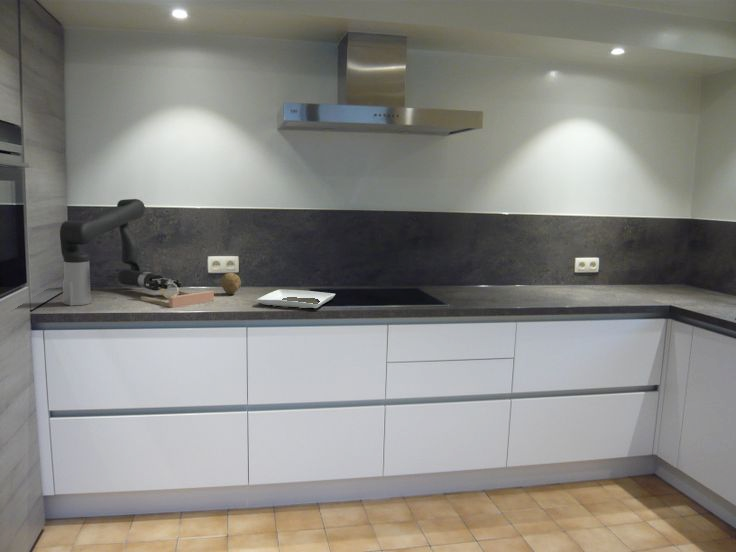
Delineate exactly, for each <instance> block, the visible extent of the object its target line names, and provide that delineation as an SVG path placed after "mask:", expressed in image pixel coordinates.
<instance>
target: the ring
mask: <svg viewBox="0 0 736 552" xmlns="http://www.w3.org/2000/svg"><path fill="white" fill-rule="evenodd" d="M165 282H166V281H165ZM165 284H167V285H168V286H169V284H172V285H174V286H175V287H174V286H173V287H174V288H176V293H175V294H174V295H173V296H178V295H179V291H180V287H178V286H177V285H176V284H175V283H173V281H172V282H171V280H168V281H167V282H166V283H165ZM160 290H161V294H162V296H163V297H165V298H166V299H169V297H172V295H170V296H168V295H166V294H165V292H164V289H163V288H161V289H160Z"/></svg>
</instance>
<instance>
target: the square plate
mask: <svg viewBox="0 0 736 552" xmlns="http://www.w3.org/2000/svg"><path fill="white" fill-rule="evenodd" d="M335 296H336V293H331V292H323V291H322V292H320V291H311V290H302V289H301V290H298V289H277V290H274V291H272V292H269V293H266V294H264V295H263V296H260V297H259V298H256V300H257V301H258V302H259V303H261V304H263V305H266V306H270V305H274V306H273V307H275V306H291V307H306V308H314V309H317V308H319V307H321V306H322V305H324V304H325V303H327V302H329V301H331V300H332V299H333V298H334V297H335ZM287 297H297V298H315V299H318V300H319V301H320V302H319V303H318V304H313V303H306V302H298V301H287V300H282V299H283V298H287Z"/></svg>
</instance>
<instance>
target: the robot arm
mask: <svg viewBox="0 0 736 552" xmlns="http://www.w3.org/2000/svg"><path fill="white" fill-rule="evenodd" d="M144 205H145V204H144V202H143V201H142V200H141V199H138V198H131V199H130V198H129V199H121V200H119V201H118V202H117V205H116V206H113V207H108V208H105V209H102V210H99V211H98V212H96V213H95V214H94V215H93V217H92V220H88V221H78V220H77V221H76V220H66V221H63V222H62V223H61V225H60V227H59V228H60V229H59V240H60V250H61V255H62V258H63V274H64V277H63V280H62V303H63V304H64V305H67V306H71V307H72V306H84V305H89V304H91V301H92V299H91V274H90V256H89V253H87V252H85V251H83V250H82V249H80V248H79V247H78V245H82V246H83V245H87V244H88V245H89V244H90V243H92V242H93V241H94V240H95V239H97V238H98V237H99V236H101V235H105V234H106V233H108V232H110V231H113V230H115V229H117V228H118V229H119V234H120V240H121V262H122V263H123V264H125V265H128V266H129V268H124V269H121V270H119V271H118V273H117V275H116V276H117V280H118V282H119V283H120V284H122V285H126V286H135V287H139V288H143V289H146V290H150V291H154V292H155V291H160V290H161V289H162V288H163V290H168V289H169V288H172V287H174V288H176V287H175V286H174V285H172V284H168V285H167V284H165V283H166V282H167V281H168V280H171V282H172V281H173V283H175V284H176V285H177V286H178V288H181V287H182V282H181V281H180V280H179V279H175V278H166V277H163V276H162V275H161V274H160V273H157V272H155V273H154V272H149V271H142V269H141V265H140V263H139V246H138V243H137V239H135V237H134V235H133V234H132V231H131V230H130V226H129V222H130V221H135V220H138V219H141V218H142V217H143V216H144V215H145V213H144V212H146V206H144ZM165 281H166V282H165Z"/></svg>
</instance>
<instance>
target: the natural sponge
mask: <svg viewBox="0 0 736 552" xmlns="http://www.w3.org/2000/svg"><path fill="white" fill-rule="evenodd" d="M220 284H221V287H222V290H223V291H224V292H225V293H226V294H227V295H229V296H230V295H233V294H235V293H236V292H237V291H238V290H239V289H240V288H241V286H242V281H241V277H240V276H238V275H237V274H236V273H234V272H227V273H225V274H224V275H223V276H222V277H221V278H220Z"/></svg>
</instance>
